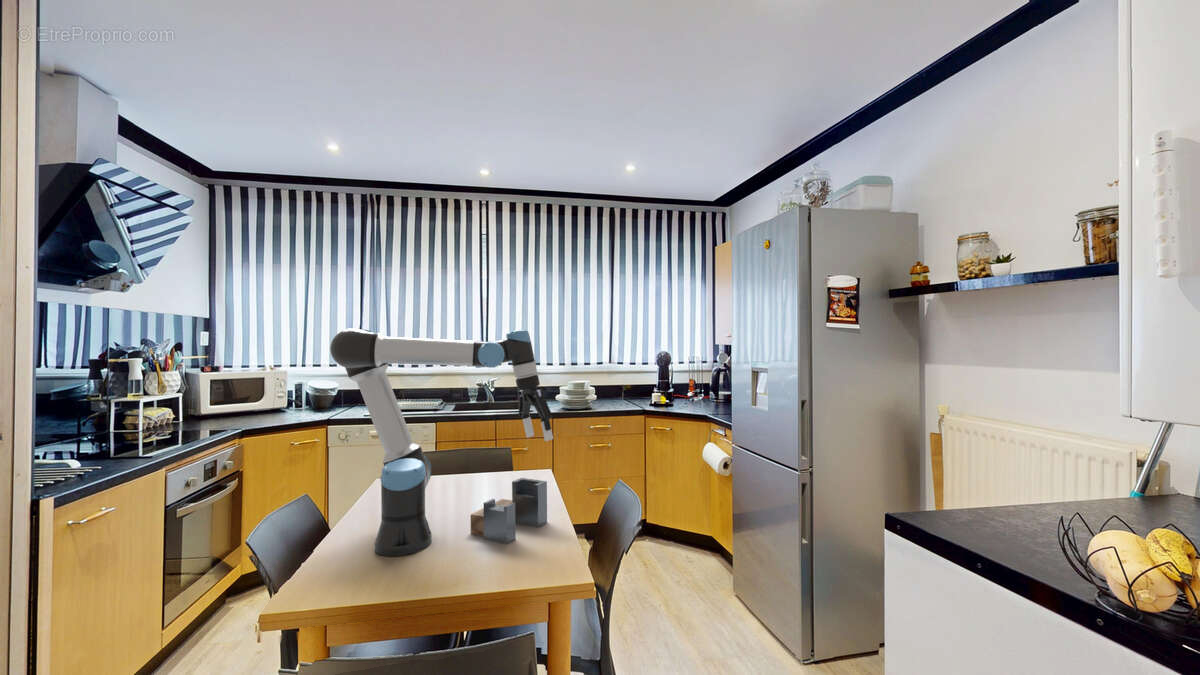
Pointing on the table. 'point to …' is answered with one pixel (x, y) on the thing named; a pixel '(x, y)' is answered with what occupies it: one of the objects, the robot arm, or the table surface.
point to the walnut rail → (478, 518)
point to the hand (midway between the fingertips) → (539, 438)
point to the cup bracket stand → (516, 510)
